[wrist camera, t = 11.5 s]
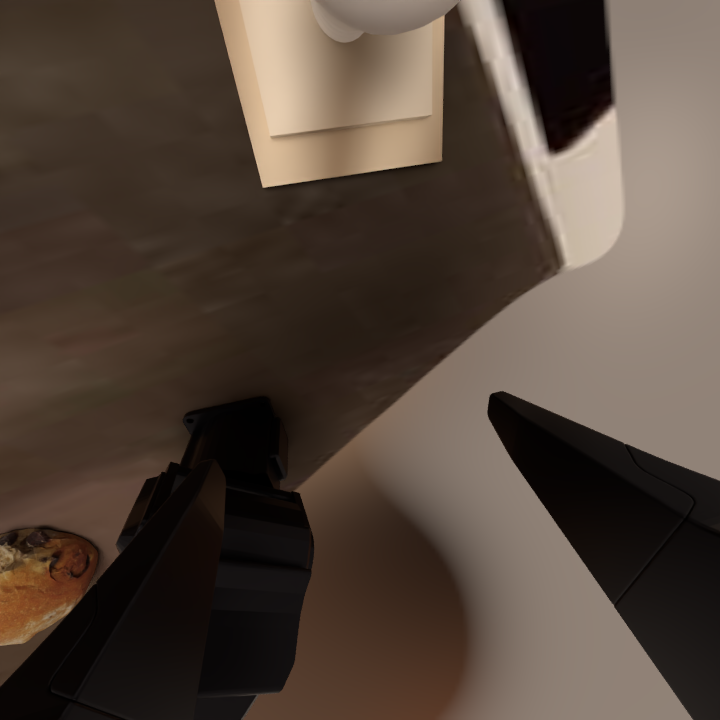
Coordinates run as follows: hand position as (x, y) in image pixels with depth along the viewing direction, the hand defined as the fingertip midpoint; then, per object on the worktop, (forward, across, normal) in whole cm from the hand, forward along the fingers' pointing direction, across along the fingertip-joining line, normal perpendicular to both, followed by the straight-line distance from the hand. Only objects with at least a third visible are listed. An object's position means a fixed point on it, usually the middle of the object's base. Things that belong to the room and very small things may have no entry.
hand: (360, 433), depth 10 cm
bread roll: (+13, +30, +19) cm, 39 cm away
